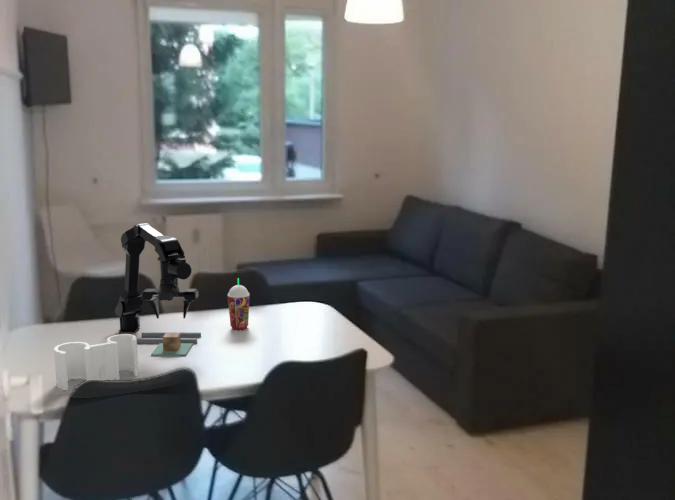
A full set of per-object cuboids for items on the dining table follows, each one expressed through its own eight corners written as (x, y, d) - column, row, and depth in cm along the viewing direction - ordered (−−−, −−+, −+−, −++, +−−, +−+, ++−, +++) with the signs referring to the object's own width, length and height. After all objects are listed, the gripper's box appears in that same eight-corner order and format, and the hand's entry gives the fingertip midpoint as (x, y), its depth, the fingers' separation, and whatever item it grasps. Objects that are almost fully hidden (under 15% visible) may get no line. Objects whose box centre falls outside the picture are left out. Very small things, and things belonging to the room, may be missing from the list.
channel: (136, 343, 270) (135, 339, 270) (142, 336, 278) (142, 332, 278) (196, 343, 270) (196, 339, 269) (201, 336, 278) (200, 332, 278)
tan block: (163, 350, 260) (162, 337, 259) (166, 346, 264) (166, 332, 263) (177, 350, 260) (177, 337, 259) (180, 346, 264) (180, 332, 263)
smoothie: (248, 331, 283) (247, 280, 279) (226, 331, 283) (225, 280, 280) (251, 325, 291) (250, 275, 288) (230, 325, 292) (229, 275, 288)
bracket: (131, 367, 246) (129, 331, 243) (142, 375, 238) (140, 339, 235) (53, 382, 232) (50, 345, 230) (61, 392, 224) (58, 354, 222)
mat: (151, 355, 256) (151, 354, 256) (159, 344, 268) (159, 343, 268) (185, 356, 256) (185, 354, 256) (192, 344, 268) (192, 343, 268)
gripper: (135, 279, 249) (138, 324, 252) (191, 279, 249) (193, 324, 252) (144, 272, 260) (146, 315, 263) (197, 272, 260) (199, 315, 263)
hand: (171, 318), depth 260 cm, fingers open, 9 cm apart
